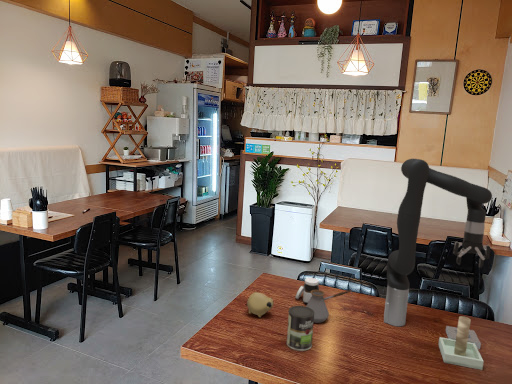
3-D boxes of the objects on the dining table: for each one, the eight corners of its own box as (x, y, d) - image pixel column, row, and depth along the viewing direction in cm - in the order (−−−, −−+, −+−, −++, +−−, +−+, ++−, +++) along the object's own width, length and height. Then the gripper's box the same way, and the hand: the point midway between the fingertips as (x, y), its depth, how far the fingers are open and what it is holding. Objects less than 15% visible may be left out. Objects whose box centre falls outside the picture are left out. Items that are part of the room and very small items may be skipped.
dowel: (455, 356, 147) (460, 320, 145) (452, 350, 151) (458, 315, 149) (466, 358, 146) (472, 322, 144) (463, 352, 150) (469, 317, 148)
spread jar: (319, 307, 187) (321, 284, 185) (296, 306, 187) (297, 283, 185) (315, 296, 199) (317, 275, 197) (294, 295, 199) (295, 274, 197)
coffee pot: (304, 324, 169) (306, 292, 167) (302, 312, 181) (304, 282, 178) (352, 327, 168) (355, 295, 166) (347, 315, 180) (350, 285, 177)
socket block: (450, 343, 158) (451, 338, 158) (445, 331, 169) (446, 325, 168) (479, 349, 155) (480, 343, 155) (473, 335, 166) (474, 330, 165)
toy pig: (270, 321, 170) (271, 299, 169) (244, 317, 173) (245, 295, 171) (274, 311, 180) (275, 290, 178) (249, 308, 182) (250, 287, 181)
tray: (444, 362, 145) (445, 354, 144) (438, 344, 157) (439, 337, 156) (482, 369, 141) (483, 361, 140) (473, 351, 153) (474, 343, 153)
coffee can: (317, 347, 151) (319, 314, 149) (295, 353, 146) (297, 319, 144) (302, 335, 160) (304, 303, 158) (281, 340, 155) (283, 307, 153)
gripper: (458, 231, 168) (453, 266, 170) (494, 235, 164) (489, 270, 166) (454, 227, 175) (450, 261, 178) (489, 231, 171) (484, 265, 174)
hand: (469, 265), depth 172 cm, fingers open, 8 cm apart
